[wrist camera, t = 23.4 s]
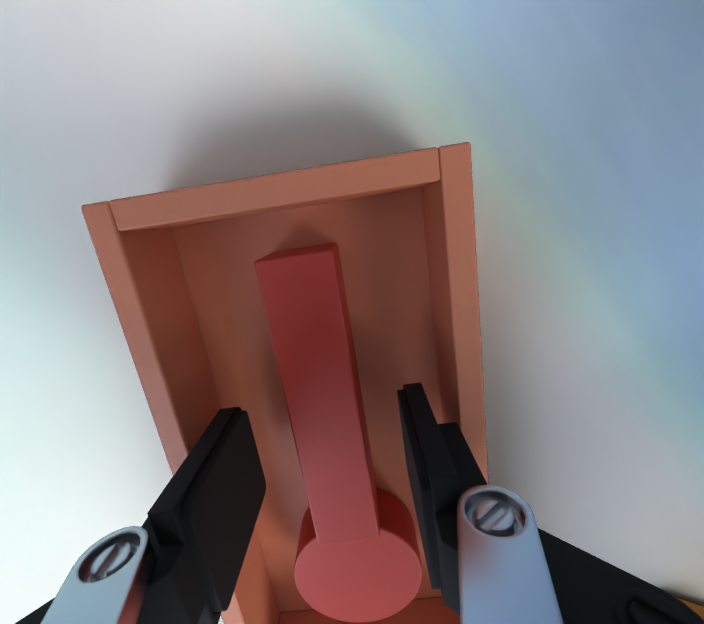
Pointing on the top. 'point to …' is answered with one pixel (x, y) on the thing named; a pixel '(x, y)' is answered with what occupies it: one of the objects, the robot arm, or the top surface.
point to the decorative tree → (695, 608)
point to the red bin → (255, 341)
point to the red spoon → (334, 446)
